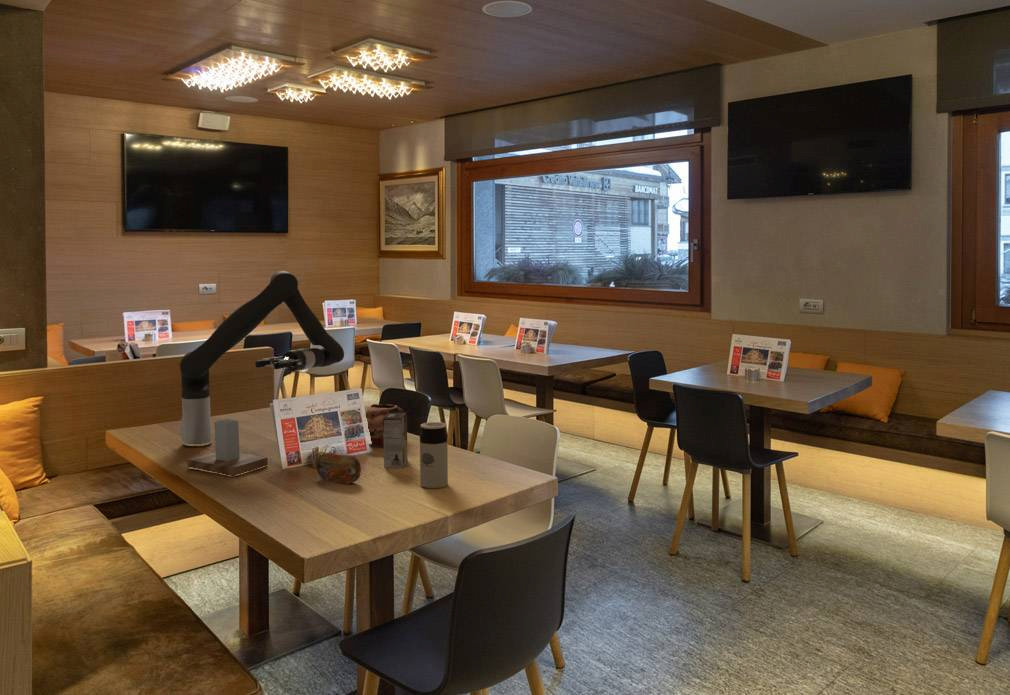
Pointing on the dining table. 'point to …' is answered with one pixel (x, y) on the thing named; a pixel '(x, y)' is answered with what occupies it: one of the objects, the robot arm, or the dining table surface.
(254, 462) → the walnut plinth
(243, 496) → the dining table surface
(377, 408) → the decorative planter
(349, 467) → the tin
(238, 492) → the dining table surface
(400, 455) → the coffee box
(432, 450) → the travel mug
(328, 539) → the dining table surface
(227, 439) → the slate block
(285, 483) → the dining table surface
